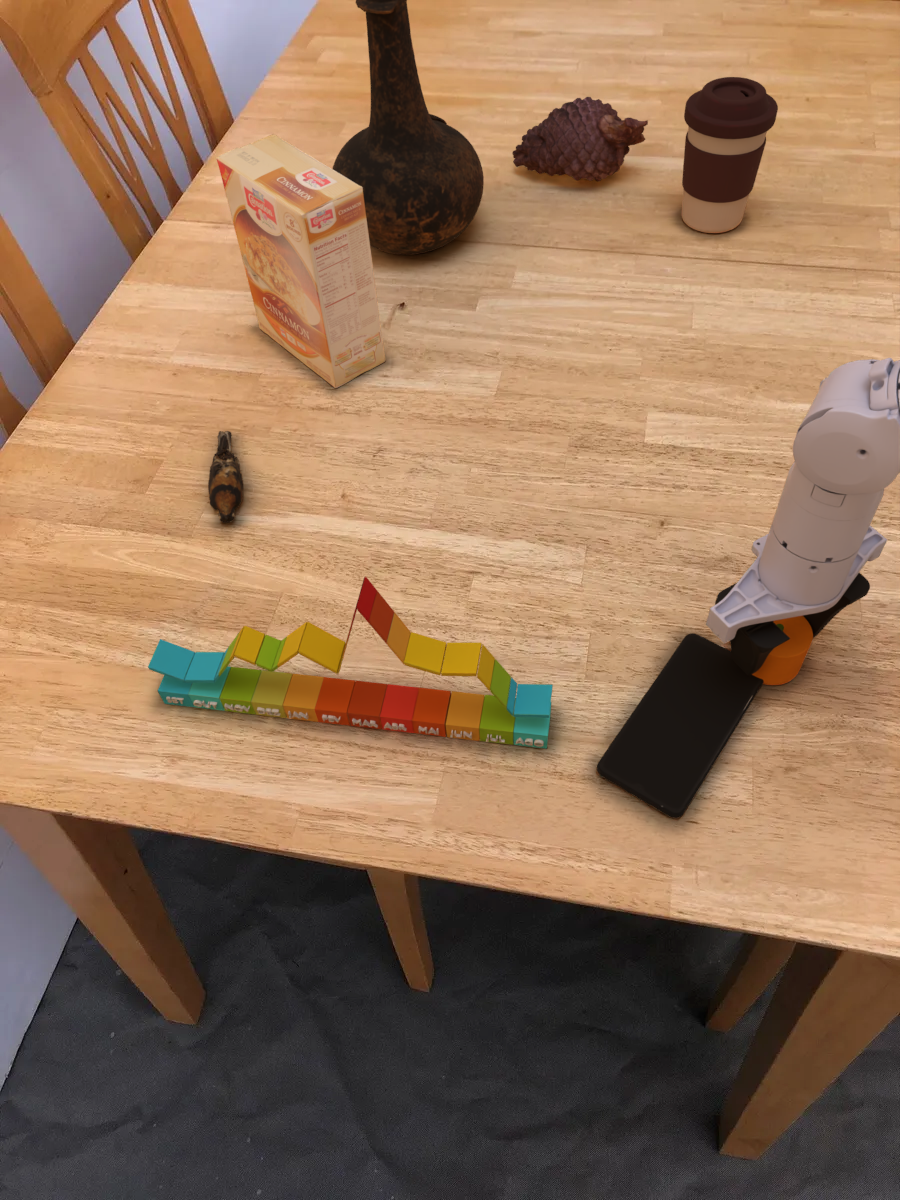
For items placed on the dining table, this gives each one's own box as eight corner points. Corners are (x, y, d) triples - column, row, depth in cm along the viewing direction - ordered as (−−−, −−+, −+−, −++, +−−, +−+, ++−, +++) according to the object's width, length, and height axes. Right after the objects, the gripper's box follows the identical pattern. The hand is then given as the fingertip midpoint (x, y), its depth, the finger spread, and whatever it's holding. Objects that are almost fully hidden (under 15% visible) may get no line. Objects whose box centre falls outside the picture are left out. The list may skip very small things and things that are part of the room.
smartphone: (770, 669, 71) (679, 819, 64) (768, 675, 72) (677, 824, 65) (689, 628, 74) (593, 767, 67) (687, 634, 74) (592, 773, 67)
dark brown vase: (506, 211, 116) (504, -49, 94) (446, 288, 106) (429, 18, 84) (381, 187, 121) (352, -64, 99) (313, 259, 112) (264, -2, 90)
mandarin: (814, 664, 72) (829, 631, 69) (769, 696, 70) (782, 664, 67) (765, 623, 75) (777, 590, 71) (721, 653, 73) (731, 621, 70)
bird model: (208, 536, 84) (200, 516, 82) (216, 438, 93) (209, 417, 91) (243, 532, 84) (236, 512, 82) (247, 434, 93) (241, 414, 91)
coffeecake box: (257, 328, 104) (212, 156, 88) (309, 302, 106) (275, 130, 91) (334, 391, 96) (300, 214, 81) (388, 361, 99) (365, 184, 83)
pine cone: (508, 196, 118) (497, 110, 115) (529, 198, 127) (519, 118, 124) (648, 167, 111) (639, 75, 108) (659, 171, 120) (652, 86, 117)
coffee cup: (663, 235, 111) (681, 106, 99) (676, 194, 116) (694, 66, 105) (748, 245, 108) (777, 113, 97) (757, 202, 114) (785, 73, 102)
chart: (163, 706, 73) (96, 587, 61) (177, 673, 75) (114, 551, 63) (546, 752, 69) (553, 633, 57) (550, 715, 71) (558, 593, 59)
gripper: (853, 453, 65) (805, 575, 76) (690, 536, 61) (664, 654, 72) (933, 514, 61) (870, 634, 72) (764, 608, 57) (724, 720, 68)
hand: (771, 648), depth 71 cm, fingers closed on mandarin, 5 cm apart
